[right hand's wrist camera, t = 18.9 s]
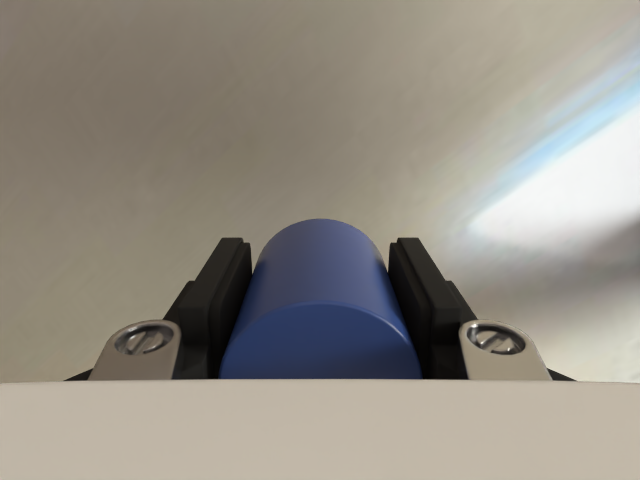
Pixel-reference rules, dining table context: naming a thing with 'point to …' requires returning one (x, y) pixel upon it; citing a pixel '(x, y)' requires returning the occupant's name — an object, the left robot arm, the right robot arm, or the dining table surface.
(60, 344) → the dining table surface
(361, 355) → the canister
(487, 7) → the dining table surface
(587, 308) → the dining table surface
